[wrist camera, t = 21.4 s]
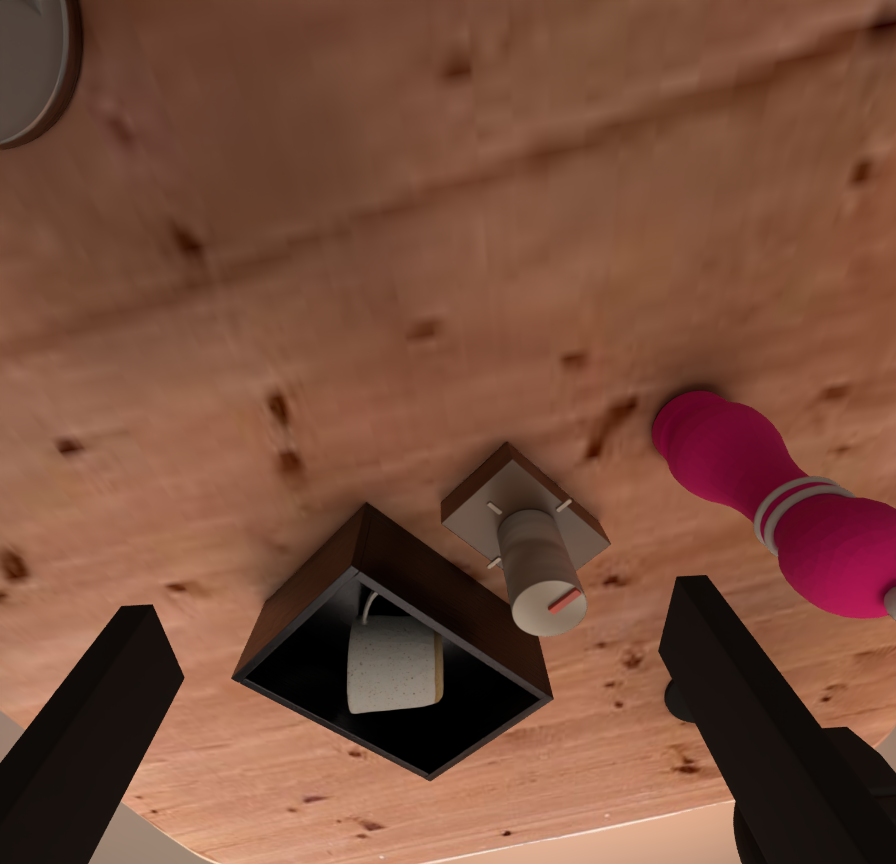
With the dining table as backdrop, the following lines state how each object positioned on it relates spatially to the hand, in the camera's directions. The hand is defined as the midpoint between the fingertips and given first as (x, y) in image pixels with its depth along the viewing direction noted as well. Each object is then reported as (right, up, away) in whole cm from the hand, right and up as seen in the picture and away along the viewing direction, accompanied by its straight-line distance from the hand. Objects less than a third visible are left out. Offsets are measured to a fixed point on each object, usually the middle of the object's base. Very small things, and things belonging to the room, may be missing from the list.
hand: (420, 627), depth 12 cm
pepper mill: (+20, +6, +25) cm, 33 cm away
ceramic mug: (-4, -13, +32) cm, 35 cm away
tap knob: (+7, -3, +26) cm, 27 cm away
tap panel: (+7, -2, +28) cm, 29 cm away
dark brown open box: (-4, -13, +33) cm, 36 cm away
